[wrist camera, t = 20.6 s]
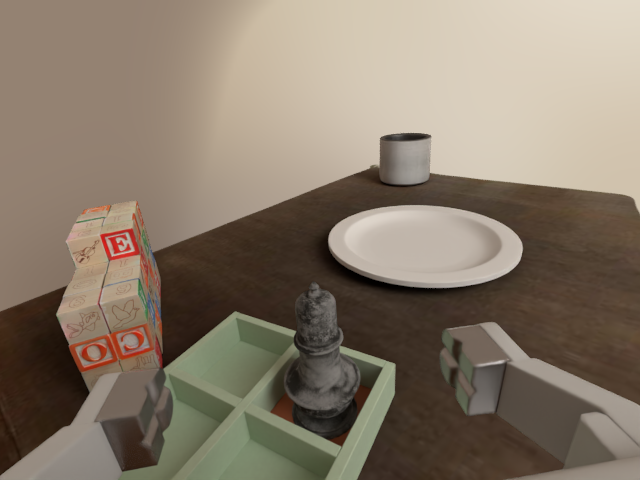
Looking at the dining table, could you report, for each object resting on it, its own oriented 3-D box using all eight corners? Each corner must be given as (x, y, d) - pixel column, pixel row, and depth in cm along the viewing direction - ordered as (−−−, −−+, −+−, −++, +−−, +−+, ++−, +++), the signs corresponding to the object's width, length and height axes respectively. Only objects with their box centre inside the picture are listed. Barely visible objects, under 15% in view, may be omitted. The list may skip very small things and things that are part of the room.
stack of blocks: (165, 375, 33) (127, 262, 28) (91, 400, 31) (36, 283, 26) (160, 277, 51) (137, 198, 46) (113, 289, 49) (83, 207, 44)
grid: (394, 394, 30) (395, 363, 28) (273, 668, 16) (263, 636, 15) (240, 337, 38) (235, 311, 37) (74, 487, 24) (55, 455, 23)
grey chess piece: (374, 401, 28) (374, 273, 24) (333, 459, 24) (322, 319, 19) (318, 371, 32) (307, 254, 27) (273, 418, 28) (250, 289, 23)
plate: (328, 221, 68) (327, 209, 67) (473, 212, 67) (475, 201, 66) (330, 304, 42) (329, 288, 41) (566, 293, 41) (570, 275, 40)
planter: (379, 188, 86) (379, 141, 82) (379, 175, 97) (379, 134, 93) (432, 186, 84) (435, 139, 79) (426, 174, 95) (428, 131, 91)
